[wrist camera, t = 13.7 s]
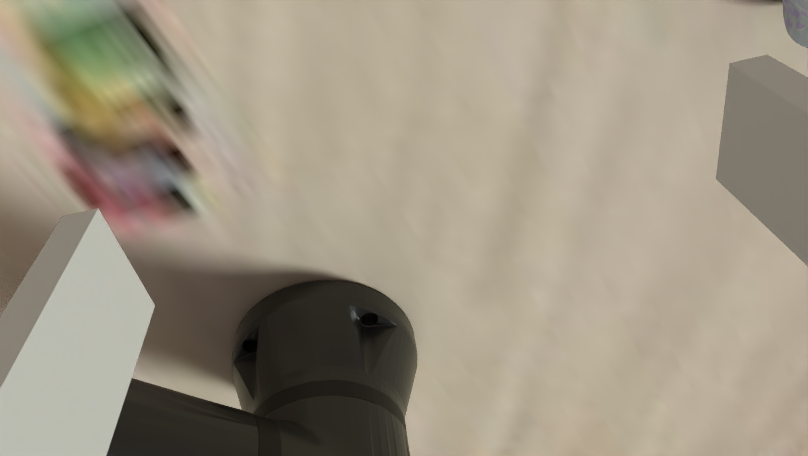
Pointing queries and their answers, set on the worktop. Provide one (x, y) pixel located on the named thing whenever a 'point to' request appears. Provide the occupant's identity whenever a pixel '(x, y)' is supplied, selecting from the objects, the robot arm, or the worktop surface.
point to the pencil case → (796, 20)
